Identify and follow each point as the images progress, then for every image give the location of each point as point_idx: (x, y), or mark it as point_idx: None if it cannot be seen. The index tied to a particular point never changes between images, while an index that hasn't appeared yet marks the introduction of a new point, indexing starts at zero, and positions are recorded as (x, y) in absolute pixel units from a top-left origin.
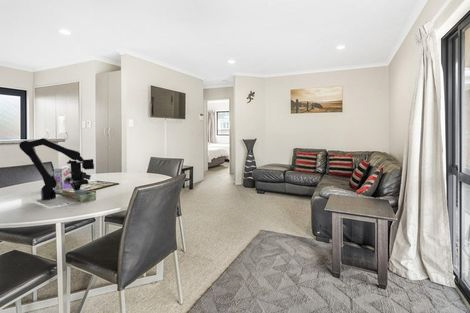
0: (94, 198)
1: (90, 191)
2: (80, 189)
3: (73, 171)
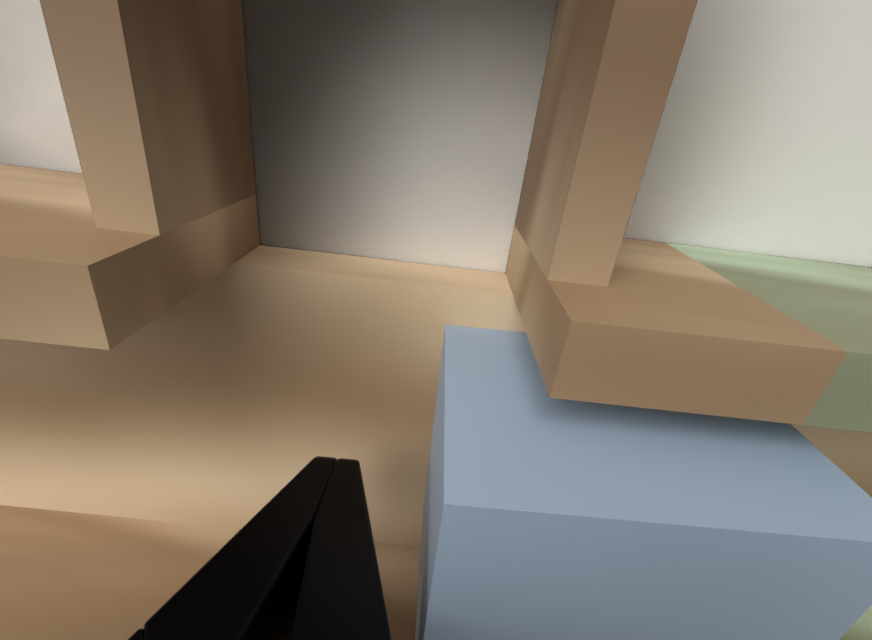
0: None
1: (616, 46)
2: (42, 341)
3: None
